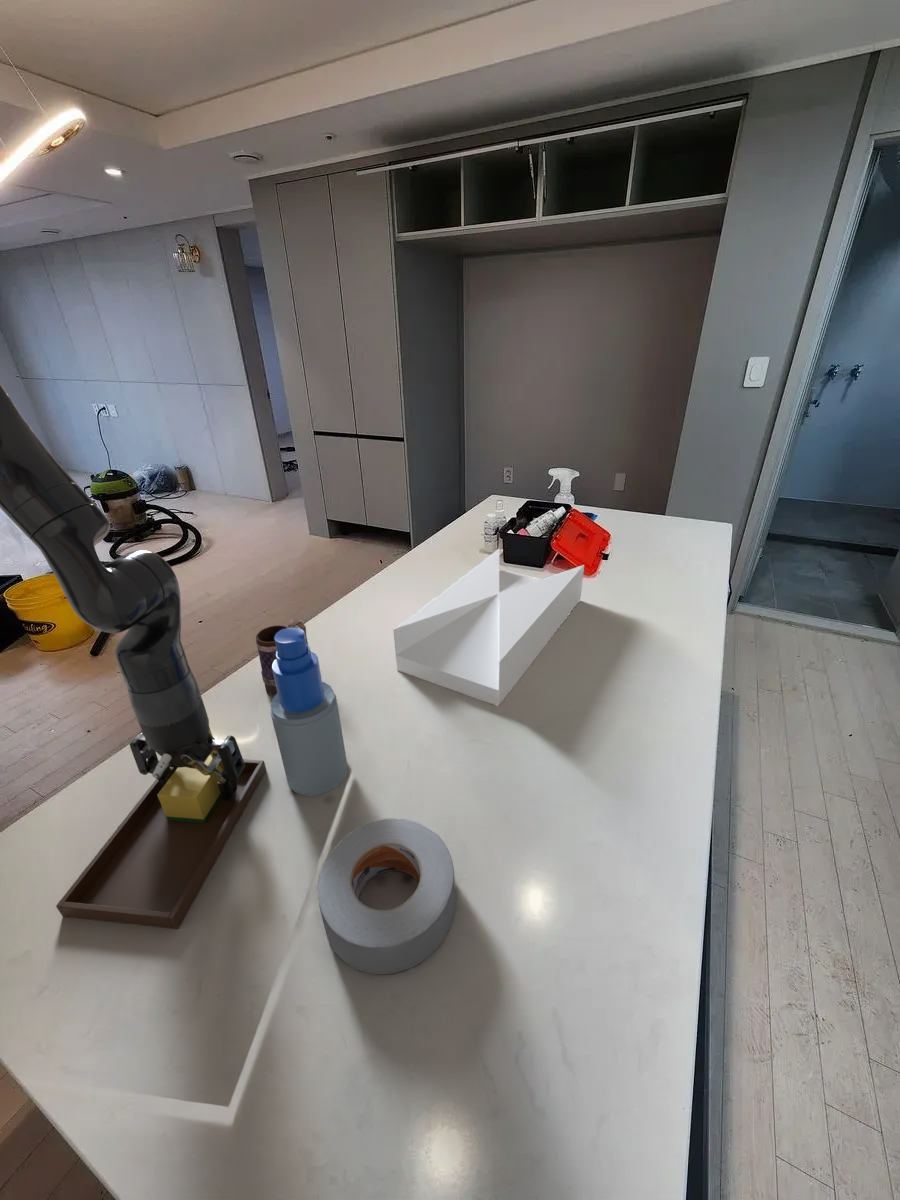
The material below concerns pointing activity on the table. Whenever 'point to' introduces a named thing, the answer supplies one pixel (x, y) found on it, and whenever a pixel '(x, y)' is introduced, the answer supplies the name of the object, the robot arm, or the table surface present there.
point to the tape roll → (401, 930)
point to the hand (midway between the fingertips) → (201, 793)
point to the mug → (272, 651)
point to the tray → (157, 861)
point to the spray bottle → (306, 718)
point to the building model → (485, 629)
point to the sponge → (190, 795)
